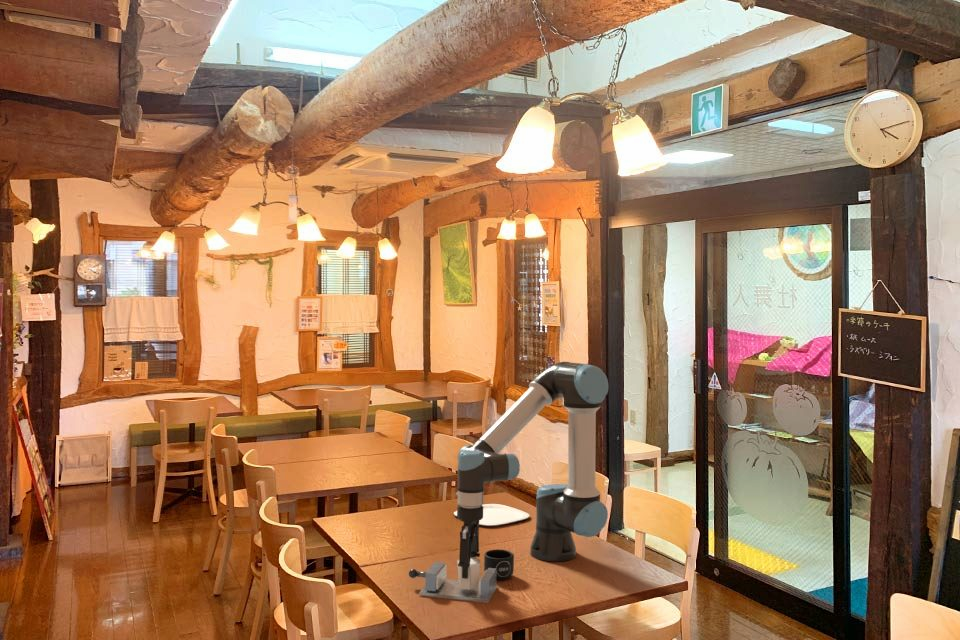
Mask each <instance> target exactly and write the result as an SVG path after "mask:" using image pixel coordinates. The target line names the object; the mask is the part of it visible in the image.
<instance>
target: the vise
mask: <svg viewBox="0 0 960 640" xmlns="http://www.w3.org/2000/svg"><path fill="white" fill-rule="evenodd" d="M497 588H498V584H497V580H496V568H488V569H487V570H486V571H485V572H484V571H483V574H482V575H481V577H479V581H478V586H477V587H476V588H471V589H470V590H469V589H461V587H460V586H459V581H458V579H450V578H449V579H448V578H446V579H445V581H444V582H443V583H442V585H441V586H440V587H439V589H437V590H436V591H426V590H425V585H424V586H423V587H422V588H421V590H420V591H419V597H429V598H438V599H448V600H456V601H465V602H473V603H482V604H483V603H484V604H489V602H490V600H491V599H492V597H493V595H494V593H495V591H496V589H497Z"/></svg>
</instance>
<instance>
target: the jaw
mask: <svg viewBox="0 0 960 640" xmlns="http://www.w3.org/2000/svg"><path fill="white" fill-rule="evenodd" d="M447 567H448V565H447V564H446V562H444V561H435V562H433V564H432V565H431V566H430V567H429V569H427V571H419V570H416V569H415V568H411V569H410V570H409V571H408V577H410V579H415V578H424V579H425V584H424V586H425V590H426V591H436V590H437V589H439V587H440V586H441V585H442V583H443V582H444V581H445V579H447V569H448V568H447Z"/></svg>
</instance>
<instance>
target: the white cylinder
mask: <svg viewBox="0 0 960 640" xmlns="http://www.w3.org/2000/svg"><path fill="white" fill-rule="evenodd" d="M481 563H482V562H481V559H478V558H477V559H476V558H470V566H471V585H470V589H471V588H476V587H477V586H478V582H479V580H480V570H481ZM458 564H459V559H457V561H456V565H457V580H458V581H459V586H460V587H461V566H458Z"/></svg>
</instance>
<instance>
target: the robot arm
mask: <svg viewBox="0 0 960 640" xmlns="http://www.w3.org/2000/svg"><path fill="white" fill-rule="evenodd" d="M608 381H609V380H608V377H607V375H606V374H605V372H604V371H603V369H601V368H600V367H598V366H595V365H592V364H588V363H579V362H571V361H560V362H557V363H554V364H551V365H550V366H548V367H547V368H545V369H544V370H543V371H541V372H540V373H539V374H538V375H537V376H536V377H534V378H533V380H532V381H530V383H528V389H527V390H526V391H525V392H524V393H523V394H522V395H521V396H520V397H519V398H518V399H517V400H516V401H515V402H514V403H513V404H512V405H511V406H510V407H509V408H508V409H507V410H506V411H505V412H504V413H503V414H502V415H501V416H500V417H499V418H498V419H497V421H496V422H494V423H493V424H492V425H491V426H490V428H488V430H487V431H486V432H484V433H483V435H482V436H481V437H479V439H478V440H476V442H475V443H474V444H472V445H471V444H467V445H464V446H462V447H461V448H460V449H459V451H458V453H457V492H456V493H455V496H457V502H456V503H457V504H458V505H457V507H456V511H457V516H456V518H457V519H459V520H460V521H463V525H461V530H460V532H459V555H458V556H459V557H458V560H459V564H458V566H461V589H469V590H470V585H471V566H470V558H476V559H478V558H479V557H480V556H481V553H480V542H479V541H480V537H479V536H480V532H479V531H480V525H479V520H481V519H482V518H483V506H482V505H484V504H485V503H484V500H485V499H484V497H485V496H484V495H485V493H484V492H485V491H484V490H485V484H486V483H493V482H500V481H501V482H502V481H509V480H513V479H515V478H517V477H518V476H519V474H520V471H521V469H520V466H521V464H520V460H519V458H518V457H517V456H516V454H513V453H503V454H501V453H500V452H502V450H504V448H505V447H507V446H508V444H509V443H510V442H511V441H512V440H513V439H514V438H515V437H517V435H518V434H520V432H521V431H522V430H523V429H524V428H525V427H526V426H527V425H528V424H529V423H530V422H531V421H532V420H533V419H534V418H535V417H537V414H539V413H540V412H541V411H542V410H543V408H544V407H546V406H550V405H552V404H553V402H555V401H557V400H558V399H561V398H563V407H564V409H565V410H566V411H567V413H568V414H567V415H568V418H567V419H568V437H567V438H568V439H567V441H568V442H567V443H568V444H567V446H568V447H567V449H568V451H567V453H568V454H567V457H568V458H567V460H568V461H567V463H568V464H567V465H568V466H567V467H568V468H567V469H568V470H567V474H568V475H567V476H568V478H567V479H568V481H567V484H565V483H558V484H557V483H555V484H544V485H541V486H539V487H538V488H537V491H536V497H535V504H536V506H535V507H536V509H535V512H536V513H535V514H536V515H535V524H536V525H535V533H534V535H533V538H532V542H531V543H530V550H529V552H530V555H531V556H532V557H533V558H535V559H538V560H541V561H545V562H546V561H547V562H567V561H570V560H573V559H574V558H576V556H577V548H576V544H575V542H574V541H575V540H574V538H573V534H572V533H574V534H576V535H577V536H581V537H586V538H592V537H595V536H597V535H598V534H599V533H601V531H602V530H603V529H604V527H606V525H607V521H608V516H609V513H608V512H609V511H608V508H607V507H606V505H605V504H604V503H603V502H602V501H601V491H600V490H599V489H598V488H597V487H596V457H597V456H596V455H597V454H596V451H597V449H596V445H597V444H596V443H597V441H596V432H597V431H596V430H597V429H596V427H597V426H596V422H597V420H596V419H597V417H596V416H597V412H598V410H599V409H601V403H602V402H603V401H604V400H605V399H606V396H607V395H608V393H609V382H608ZM458 566H457V567H458Z"/></svg>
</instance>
